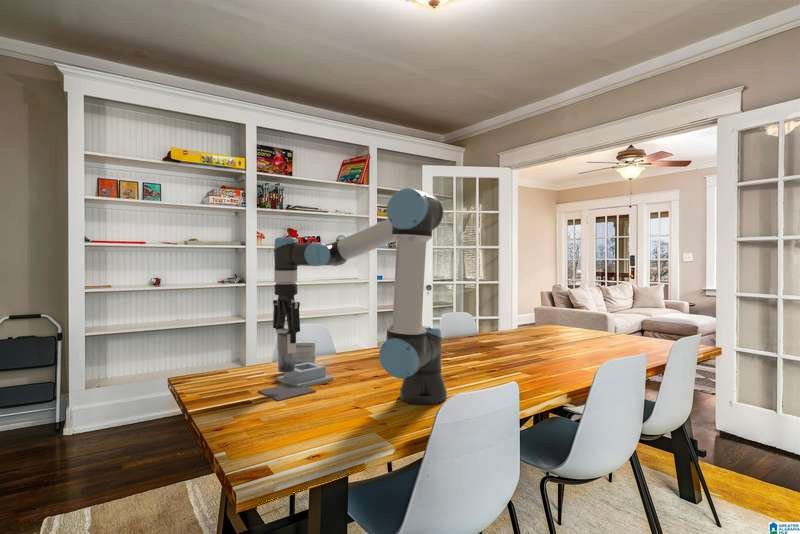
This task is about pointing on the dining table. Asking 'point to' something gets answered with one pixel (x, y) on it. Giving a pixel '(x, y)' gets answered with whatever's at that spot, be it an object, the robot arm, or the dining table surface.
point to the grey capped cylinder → (284, 352)
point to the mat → (286, 391)
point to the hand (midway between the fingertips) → (286, 351)
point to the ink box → (305, 352)
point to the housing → (305, 375)
